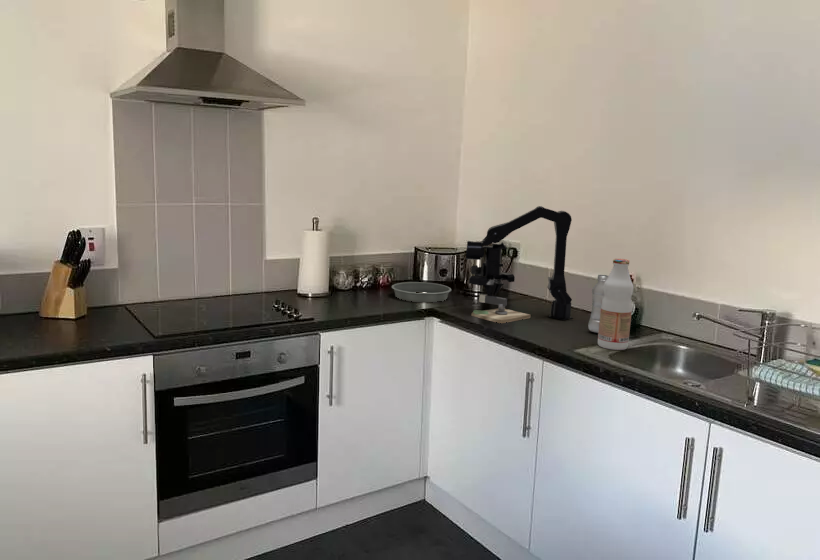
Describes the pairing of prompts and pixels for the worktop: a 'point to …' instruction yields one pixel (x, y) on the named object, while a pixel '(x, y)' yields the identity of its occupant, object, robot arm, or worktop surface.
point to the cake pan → (410, 288)
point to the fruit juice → (616, 308)
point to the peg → (494, 301)
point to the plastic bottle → (597, 303)
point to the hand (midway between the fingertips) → (490, 301)
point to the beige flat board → (500, 315)
